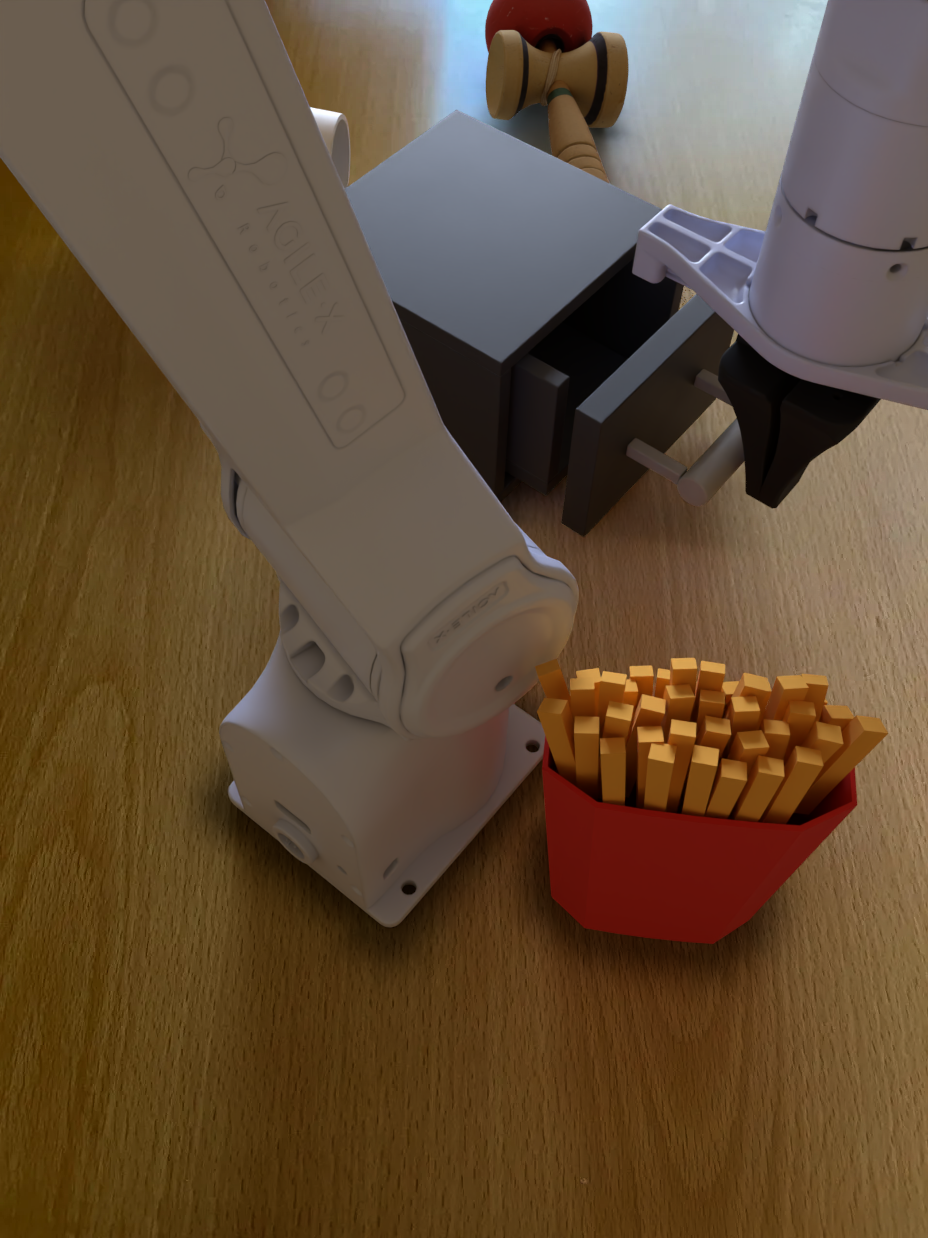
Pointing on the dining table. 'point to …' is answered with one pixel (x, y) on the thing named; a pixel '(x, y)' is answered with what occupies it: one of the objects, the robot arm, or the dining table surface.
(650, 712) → the french fries
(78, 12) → the robot arm
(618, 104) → the kendama
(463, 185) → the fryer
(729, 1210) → the dining table surface
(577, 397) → the drawer
